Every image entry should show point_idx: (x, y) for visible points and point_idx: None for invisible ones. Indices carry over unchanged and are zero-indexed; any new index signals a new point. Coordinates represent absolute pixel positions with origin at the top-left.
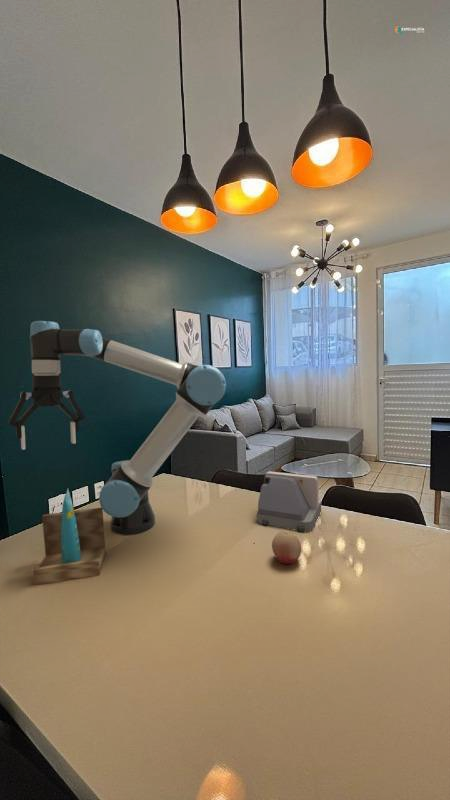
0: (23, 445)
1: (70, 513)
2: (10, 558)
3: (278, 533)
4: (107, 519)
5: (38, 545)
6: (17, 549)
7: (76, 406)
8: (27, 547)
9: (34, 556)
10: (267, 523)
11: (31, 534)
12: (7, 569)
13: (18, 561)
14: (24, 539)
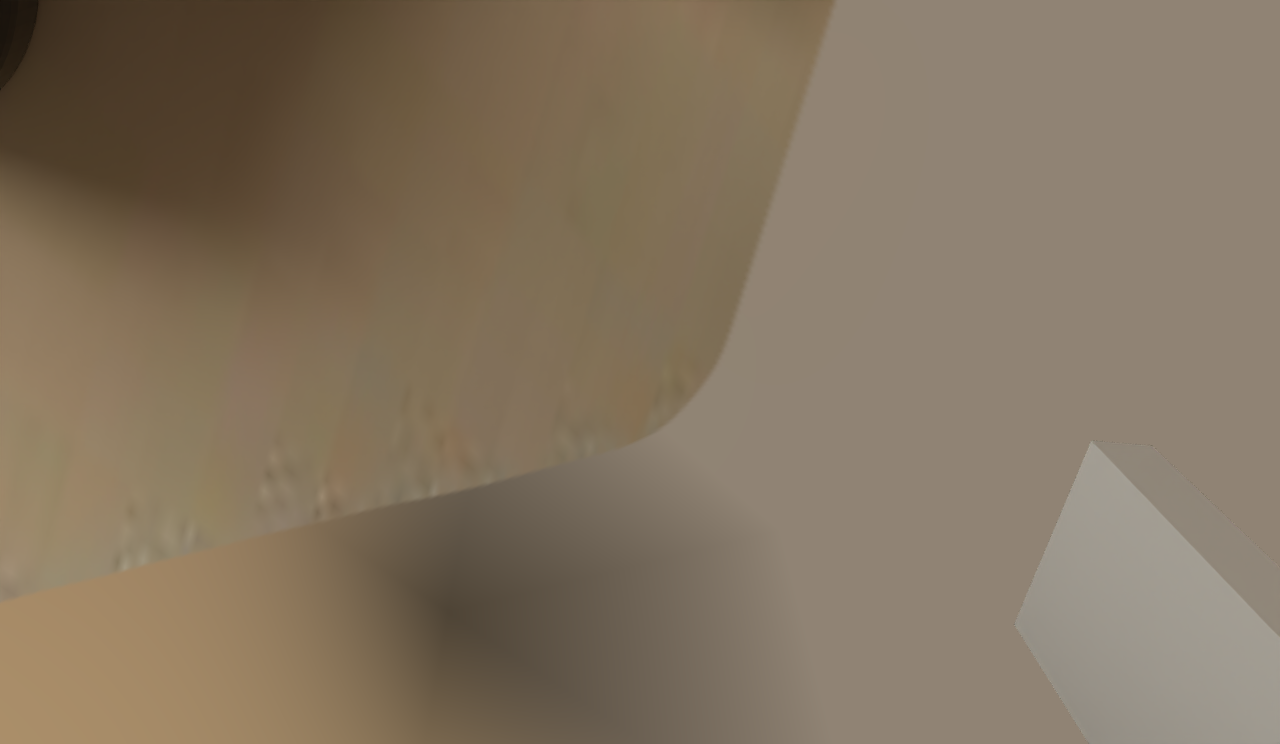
0: (1189, 507)
1: None
2: (764, 154)
3: None
4: (20, 237)
5: (581, 200)
6: (694, 249)
7: None
8: (642, 228)
9: (651, 51)
10: None
11: (565, 401)
12: (827, 8)
13: (745, 66)
14: (619, 360)
